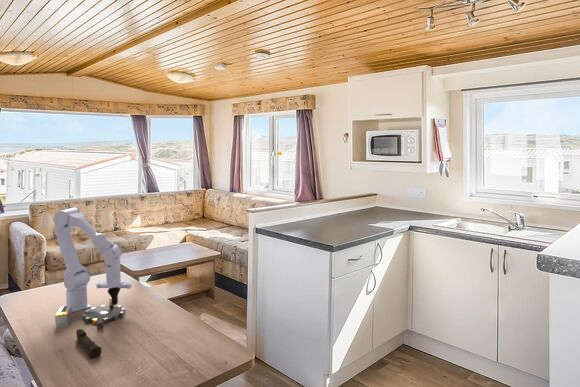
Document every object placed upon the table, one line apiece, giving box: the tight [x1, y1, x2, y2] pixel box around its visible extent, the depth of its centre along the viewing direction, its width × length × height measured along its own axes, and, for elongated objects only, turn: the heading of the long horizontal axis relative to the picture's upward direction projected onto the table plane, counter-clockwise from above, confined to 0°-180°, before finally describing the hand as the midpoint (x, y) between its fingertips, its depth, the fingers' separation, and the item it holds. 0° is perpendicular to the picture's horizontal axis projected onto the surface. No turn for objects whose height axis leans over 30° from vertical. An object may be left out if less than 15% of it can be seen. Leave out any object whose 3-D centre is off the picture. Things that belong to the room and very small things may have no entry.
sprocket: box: [82, 297, 126, 325], centre depth 172 cm, size 16×16×5 cm
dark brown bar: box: [75, 328, 103, 360], centre depth 145 cm, size 19×4×5 cm, turn 42°
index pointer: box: [96, 320, 105, 330], centre depth 161 cm, size 3×2×2 cm, turn 18°
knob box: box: [54, 305, 73, 329], centre depth 165 cm, size 10×4×5 cm, turn 19°
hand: (114, 304), depth 177 cm, fingers closed, pressing on sprocket
